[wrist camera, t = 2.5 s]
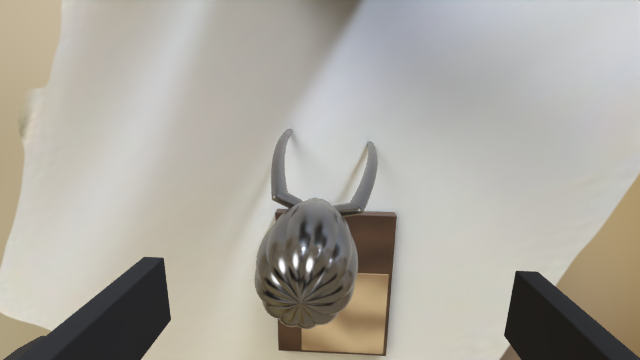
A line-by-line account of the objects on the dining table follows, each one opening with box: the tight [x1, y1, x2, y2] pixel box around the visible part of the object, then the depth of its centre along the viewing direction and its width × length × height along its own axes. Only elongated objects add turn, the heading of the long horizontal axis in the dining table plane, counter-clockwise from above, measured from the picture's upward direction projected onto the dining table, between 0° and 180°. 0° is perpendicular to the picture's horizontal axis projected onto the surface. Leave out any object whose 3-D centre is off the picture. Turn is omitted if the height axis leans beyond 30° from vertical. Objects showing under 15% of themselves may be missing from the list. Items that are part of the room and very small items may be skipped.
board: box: [275, 209, 397, 356], centre depth 45 cm, size 22×16×2 cm
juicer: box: [255, 129, 378, 329], centre depth 26 cm, size 10×11×30 cm
